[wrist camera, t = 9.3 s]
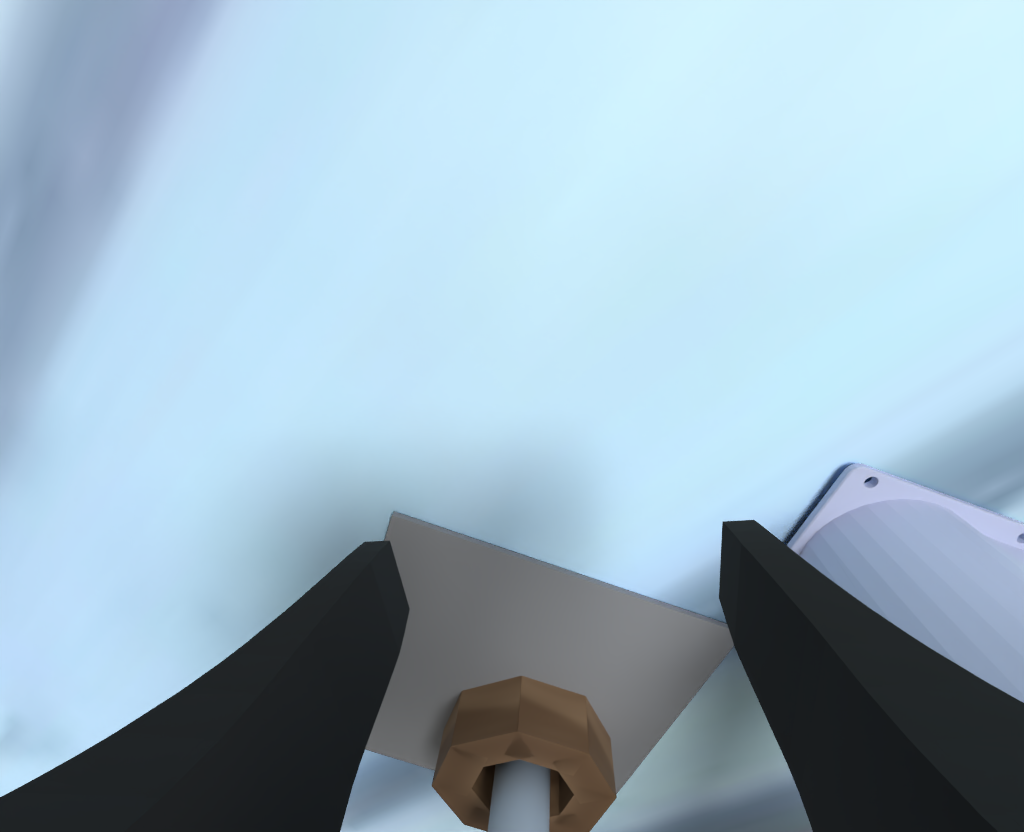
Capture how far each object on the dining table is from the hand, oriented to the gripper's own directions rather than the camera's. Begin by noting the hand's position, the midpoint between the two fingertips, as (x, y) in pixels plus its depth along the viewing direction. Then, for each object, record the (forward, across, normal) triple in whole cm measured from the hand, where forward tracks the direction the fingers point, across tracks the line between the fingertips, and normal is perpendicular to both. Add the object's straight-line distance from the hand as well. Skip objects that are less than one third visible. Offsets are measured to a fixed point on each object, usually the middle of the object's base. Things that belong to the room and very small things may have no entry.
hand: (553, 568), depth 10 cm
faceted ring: (+10, +4, +20) cm, 23 cm away
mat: (+10, +4, +17) cm, 20 cm away
